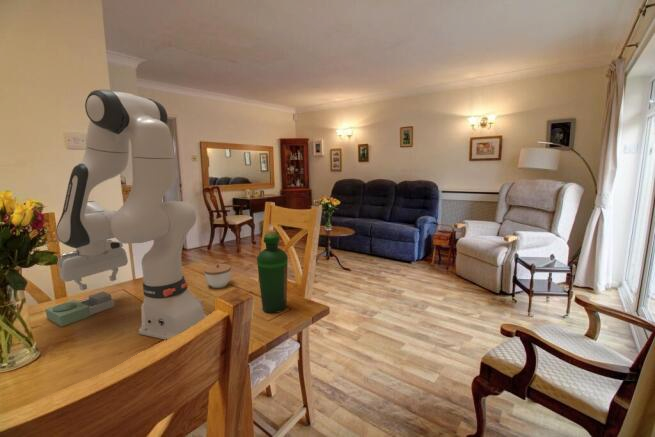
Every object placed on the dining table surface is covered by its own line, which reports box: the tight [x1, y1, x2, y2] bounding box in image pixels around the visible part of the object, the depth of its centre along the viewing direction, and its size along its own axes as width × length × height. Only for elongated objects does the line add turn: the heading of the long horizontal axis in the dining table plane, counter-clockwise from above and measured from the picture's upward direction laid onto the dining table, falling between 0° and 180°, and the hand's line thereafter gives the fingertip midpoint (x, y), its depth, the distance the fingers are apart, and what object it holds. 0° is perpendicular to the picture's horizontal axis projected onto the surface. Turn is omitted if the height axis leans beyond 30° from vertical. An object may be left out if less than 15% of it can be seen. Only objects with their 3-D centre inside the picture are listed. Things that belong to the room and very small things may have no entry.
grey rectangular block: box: [88, 291, 112, 307], centre depth 114 cm, size 6×4×4 cm
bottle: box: [256, 229, 289, 314], centre depth 109 cm, size 11×11×28 cm
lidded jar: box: [203, 263, 232, 289], centre depth 131 cm, size 11×11×9 cm
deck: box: [45, 297, 116, 327], centre depth 109 cm, size 11×16×4 cm
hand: (99, 284), depth 112 cm, fingers open, 8 cm apart
